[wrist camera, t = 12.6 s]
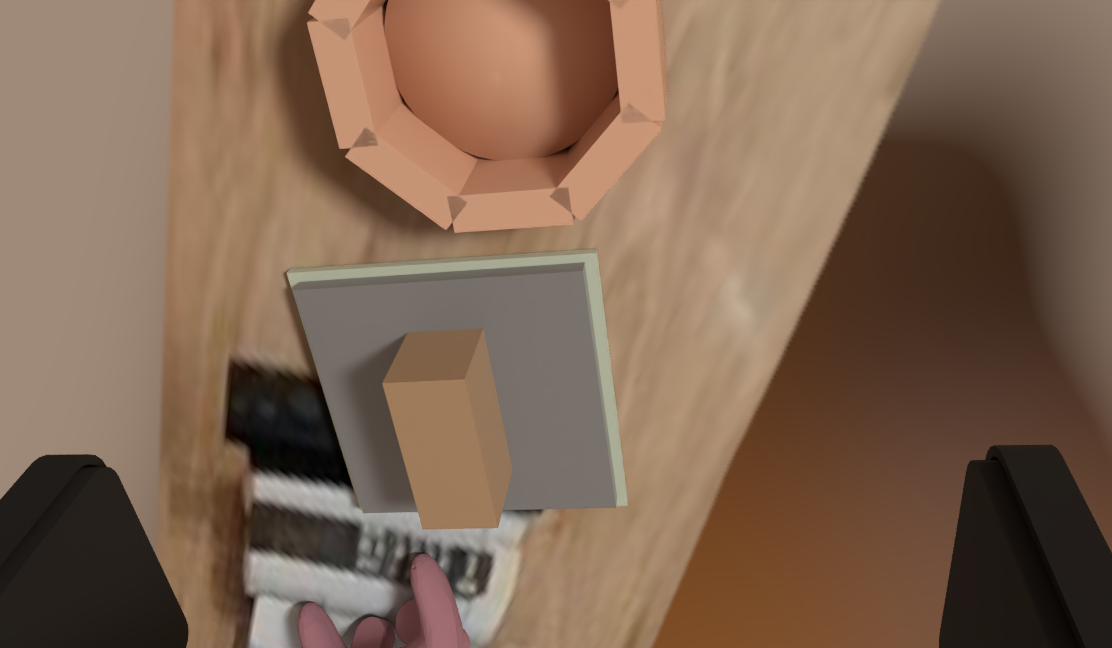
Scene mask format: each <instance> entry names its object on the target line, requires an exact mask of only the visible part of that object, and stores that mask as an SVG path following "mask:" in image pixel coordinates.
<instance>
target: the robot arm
mask: <svg viewBox="0 0 1112 648" xmlns="http://www.w3.org/2000/svg"><path fill="white" fill-rule="evenodd" d="M187 642H188V624H187V621H186V618H185V616H184V614H183V612H182V610H181V607H180V605H179V603H178V601H177V599H176V597H175V595H174V593H173V590H172V588H171V586H170V584H169V582H168V580H167V578H166V576H165V574H164V571H163V569H162V567H161V565H160V563H159V561H158V559H157V557H156V555H155V552H154V550H153V548H152V546H151V544H150V542H149V540H148V538H147V536H146V533H145V531H144V529H143V527H142V525H141V523H140V521H139V519H138V516H137V514H136V512H135V510H134V508H133V506H132V504H131V502H130V500H129V497H128V495H127V493H126V491H125V489H124V487H123V485H122V483H121V481H120V479H119V476H118V475H117V473H116V472H115V471H114V470H113V469H112V468H110V467H106V465H105V464H104V462H103V461H102V459H100V458H99V457H97V456H96V455H87V454H86V455H45V456H42V457H39V458H38V459H37V460H35V461H34V462H33V463H32V464H31V465H30V466H29V467H28V469H27V470H26V471H25V472H24V473H23V474H22V475H21V476H20V478H19V479H18V480H17V481H16V482H15V483H14V485H13V486H12V487H11V488H10V489H9V490H8V491H7V493H6V494H5V495H4V496H3V497H2V499H0V648H186V646H187ZM939 648H1112V553H1111V551H1110V549H1109V547H1108V545H1107V543H1106V541H1105V539H1104V537H1103V535H1102V533H1101V531H1100V529H1099V527H1098V525H1097V523H1096V521H1095V519H1094V517H1093V516H1092V513H1091V512H1090V510H1089V508H1088V506H1087V504H1086V502H1085V500H1084V498H1083V496H1082V494H1081V492H1080V490H1079V488H1078V486H1077V484H1076V482H1075V480H1074V478H1073V476H1072V474H1071V472H1070V471H1069V469H1068V467H1067V465H1066V463H1065V461H1064V459H1063V457H1062V455H1061V453H1060V452H1059V451H1058V449H1057V448H1056V447H1054V446H1053V445H999V446H997V445H995V446H991V447H990V449H989V450H988V452H987V455H986V459H985V460H972V461H970V462H969V464H968V466H967V471H966V476H965V482H964V488H963V494H962V501H961V506H960V513H959V519H958V525H957V532H956V537H955V543H954V549H953V555H952V562H951V568H950V574H949V580H948V586H947V592H946V598H945V605H944V611H943V616H942V623H941V629H940V636H939Z"/></svg>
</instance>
